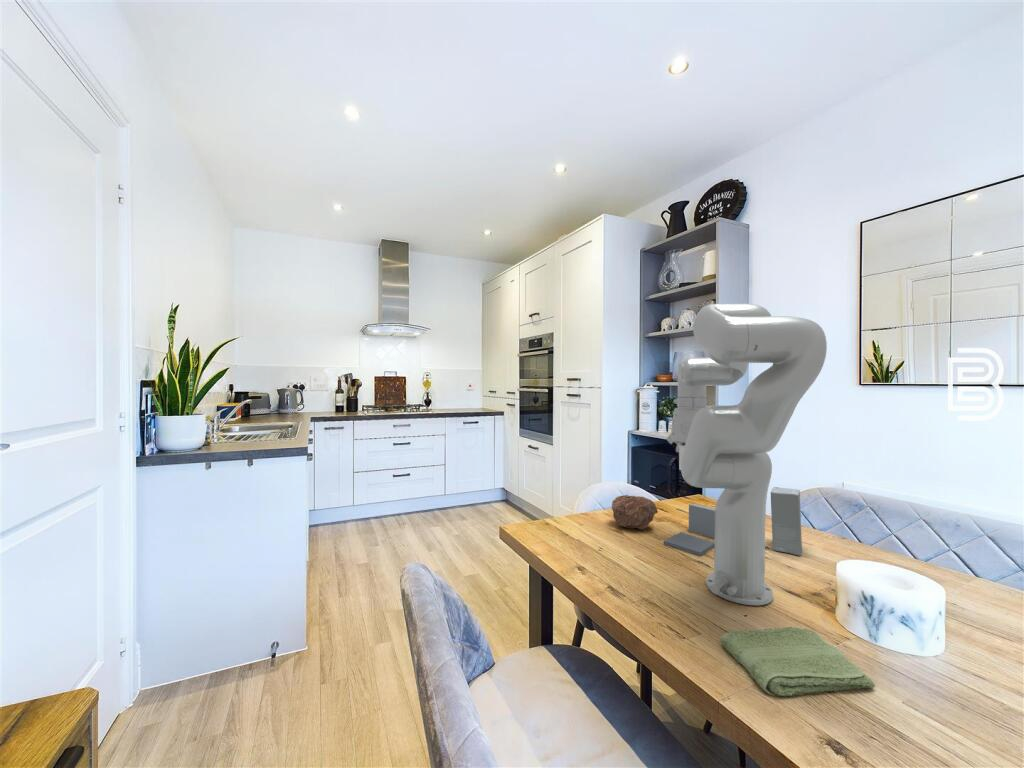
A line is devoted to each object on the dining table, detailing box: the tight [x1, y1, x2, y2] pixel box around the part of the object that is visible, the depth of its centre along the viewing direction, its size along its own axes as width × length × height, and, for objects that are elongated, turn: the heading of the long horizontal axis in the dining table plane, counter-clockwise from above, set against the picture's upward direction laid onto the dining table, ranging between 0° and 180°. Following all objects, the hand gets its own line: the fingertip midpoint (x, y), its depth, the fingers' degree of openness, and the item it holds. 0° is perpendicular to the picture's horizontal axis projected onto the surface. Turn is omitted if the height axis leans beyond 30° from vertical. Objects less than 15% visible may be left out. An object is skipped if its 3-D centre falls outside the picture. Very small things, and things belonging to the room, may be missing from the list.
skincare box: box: [770, 486, 803, 557], centre depth 111 cm, size 8×7×16 cm
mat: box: [663, 531, 715, 557], centre depth 112 cm, size 10×10×1 cm
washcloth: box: [719, 626, 876, 697], centre depth 65 cm, size 13×18×3 cm
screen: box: [688, 503, 715, 540], centre depth 118 cm, size 2×13×8 cm, turn 42°
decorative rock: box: [611, 494, 659, 531], centre depth 126 cm, size 13×11×10 cm
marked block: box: [678, 444, 685, 471], centre depth 116 cm, size 5×5×7 cm
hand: (691, 466), depth 116 cm, fingers closed on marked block, 5 cm apart
